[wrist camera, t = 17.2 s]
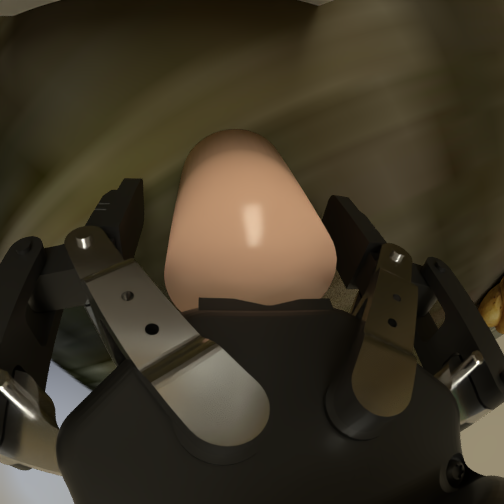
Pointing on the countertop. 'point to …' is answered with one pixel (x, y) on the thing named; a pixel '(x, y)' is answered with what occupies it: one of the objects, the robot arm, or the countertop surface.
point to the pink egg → (244, 228)
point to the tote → (12, 3)
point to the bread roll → (494, 307)
